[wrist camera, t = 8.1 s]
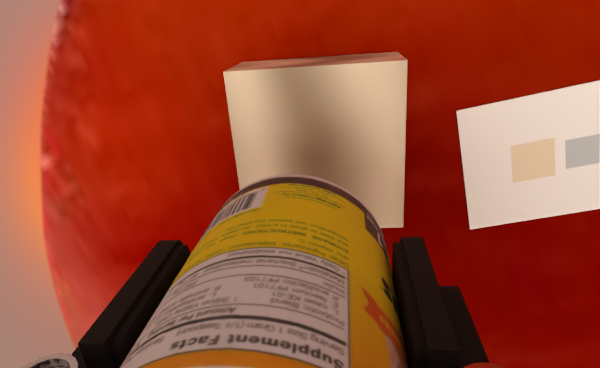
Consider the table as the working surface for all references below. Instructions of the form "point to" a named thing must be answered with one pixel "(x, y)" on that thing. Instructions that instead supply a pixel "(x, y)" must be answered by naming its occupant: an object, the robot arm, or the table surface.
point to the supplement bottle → (281, 287)
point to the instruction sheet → (532, 156)
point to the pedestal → (324, 124)
